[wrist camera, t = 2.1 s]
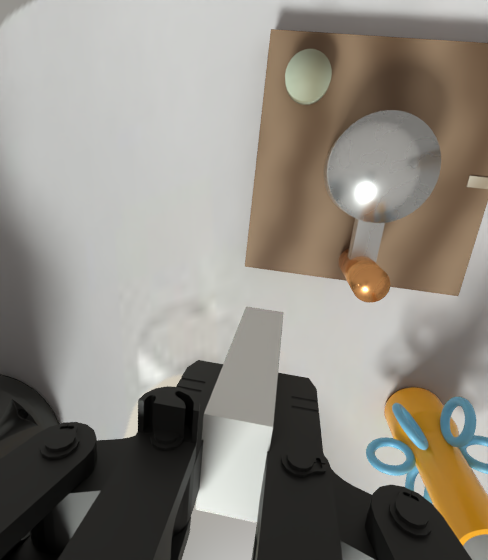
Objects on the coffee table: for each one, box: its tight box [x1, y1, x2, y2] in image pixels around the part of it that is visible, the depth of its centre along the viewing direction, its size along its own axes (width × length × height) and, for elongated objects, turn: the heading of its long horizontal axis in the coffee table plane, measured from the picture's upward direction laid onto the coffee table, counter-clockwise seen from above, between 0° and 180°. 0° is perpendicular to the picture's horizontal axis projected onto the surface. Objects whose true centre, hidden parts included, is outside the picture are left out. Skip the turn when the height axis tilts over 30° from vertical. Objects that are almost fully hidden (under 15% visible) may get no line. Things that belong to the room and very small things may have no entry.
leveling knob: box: [324, 110, 441, 302], centre depth 26 cm, size 13×8×8 cm, turn 174°
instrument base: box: [245, 29, 488, 296], centre depth 29 cm, size 20×20×4 cm
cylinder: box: [366, 387, 488, 560], centre depth 30 cm, size 12×10×15 cm
